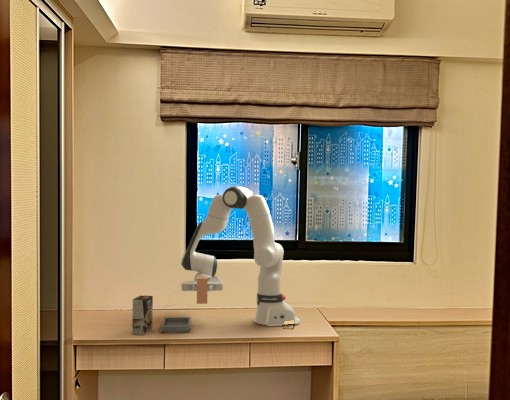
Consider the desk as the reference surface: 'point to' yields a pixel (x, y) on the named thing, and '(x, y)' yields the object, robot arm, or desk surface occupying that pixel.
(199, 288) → the block
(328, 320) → the desk surface
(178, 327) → the tray
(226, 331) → the desk surface
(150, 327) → the coffee box
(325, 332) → the desk surface
